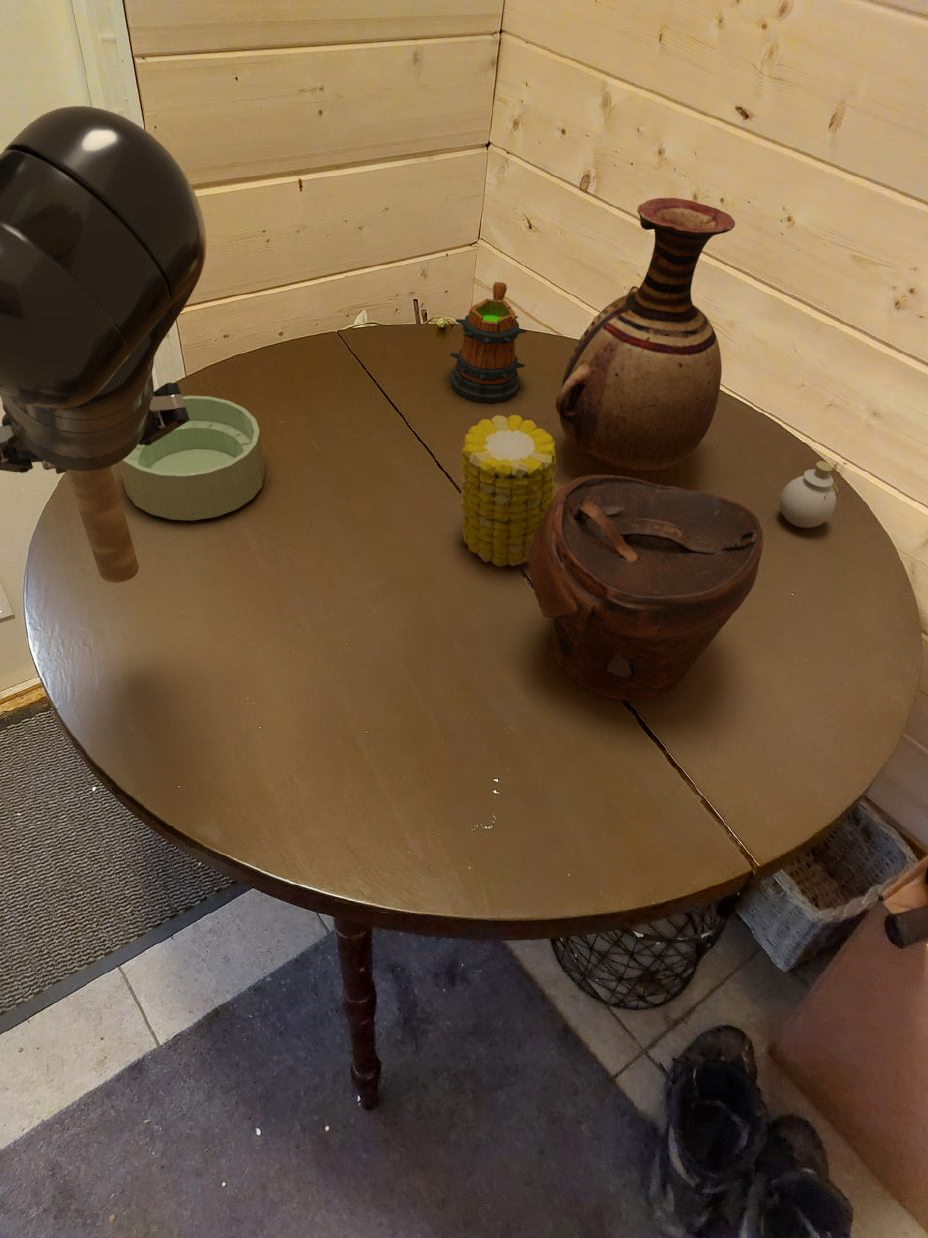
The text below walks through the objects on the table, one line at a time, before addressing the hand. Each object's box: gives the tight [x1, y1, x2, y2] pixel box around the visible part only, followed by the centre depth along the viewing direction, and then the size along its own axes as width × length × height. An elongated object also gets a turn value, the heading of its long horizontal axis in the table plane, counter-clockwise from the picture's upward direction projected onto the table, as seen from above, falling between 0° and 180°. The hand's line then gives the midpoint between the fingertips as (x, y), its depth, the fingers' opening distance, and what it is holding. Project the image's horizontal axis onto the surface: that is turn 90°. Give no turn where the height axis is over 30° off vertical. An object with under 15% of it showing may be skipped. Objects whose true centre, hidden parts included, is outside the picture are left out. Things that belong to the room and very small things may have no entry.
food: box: [460, 414, 557, 568], centre depth 86 cm, size 15×12×10 cm
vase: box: [555, 197, 736, 471], centre depth 93 cm, size 21×18×30 cm
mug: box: [449, 281, 528, 404], centre depth 111 cm, size 13×10×12 cm
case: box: [528, 474, 764, 702], centre depth 75 cm, size 18×20×18 cm
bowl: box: [117, 395, 266, 521], centre depth 92 cm, size 15×15×6 cm
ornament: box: [779, 460, 839, 529], centre depth 94 cm, size 6×7×10 cm
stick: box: [66, 465, 140, 584], centre depth 62 cm, size 3×3×14 cm
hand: (82, 453), depth 61 cm, fingers closed on stick, 3 cm apart
